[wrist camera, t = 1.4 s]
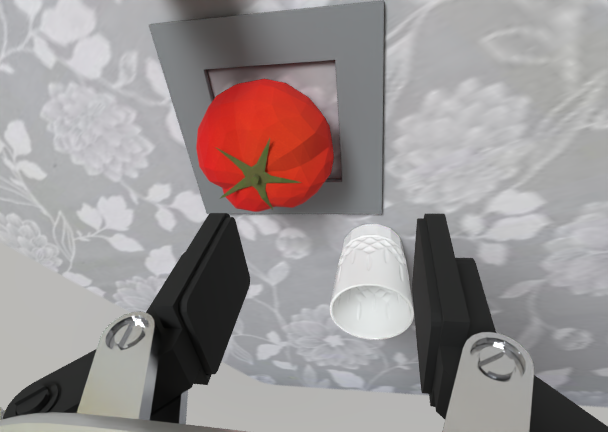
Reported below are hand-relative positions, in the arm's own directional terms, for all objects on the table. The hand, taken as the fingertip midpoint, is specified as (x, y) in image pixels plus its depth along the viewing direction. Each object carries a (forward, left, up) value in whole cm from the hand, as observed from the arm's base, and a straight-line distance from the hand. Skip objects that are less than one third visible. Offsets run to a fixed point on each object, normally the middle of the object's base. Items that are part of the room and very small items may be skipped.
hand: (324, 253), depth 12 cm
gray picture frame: (+8, +6, -26) cm, 27 cm away
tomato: (+8, +6, -26) cm, 28 cm away
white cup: (-1, +21, -26) cm, 33 cm away
